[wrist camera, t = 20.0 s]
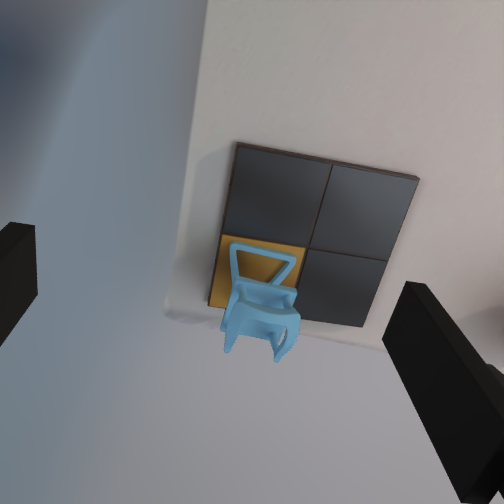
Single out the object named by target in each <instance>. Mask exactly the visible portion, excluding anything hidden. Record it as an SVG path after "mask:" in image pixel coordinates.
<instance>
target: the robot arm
mask: <svg viewBox="0 0 504 504" xmlns="http://www.w3.org/2000/svg"><path fill="white" fill-rule="evenodd" d="M35 242H36V241H35V225H29V224H22V223H16V222H10V223H8V225H6V226H5V227H4V228H3V229H2V230H1V231H0V346H1V345H2V344H3V342H4V341H5V340H6V338H7V337H8V335H9V334H10V333H11V331H12V330H13V328H14V327H15V325H16V324H17V323H18V321H19V320H20V318H21V317H22V315H23V314H24V313H25V312H26V310H27V309H28V307H29V306H30V305H31V303H32V302H33V300H34V299H35V297H36V296H37V295H38V289H37V265H36V243H35ZM382 341H383V343H384V345H385V347H386V349H387V351H388V353H389V355H390V357H391V359H392V361H393V363H394V365H395V368H396V370H397V371H398V374H399V376H400V378H401V380H402V382H403V384H404V386H405V388H406V390H407V392H408V394H409V396H410V398H411V401H412V403H413V405H414V407H415V409H416V411H417V413H418V415H419V417H420V419H421V421H422V423H423V425H424V427H425V429H426V432H427V434H428V435H429V438H430V440H431V442H432V444H433V446H434V448H435V450H436V452H437V454H438V456H439V458H440V460H441V463H442V464H443V466H444V469H445V471H446V473H447V475H448V477H449V479H450V481H451V483H452V485H453V487H454V489H455V491H456V493H457V496H458V498H459V500H460V502H461V503H468V504H489V503H490V501H491V500H492V498H493V497H494V496H495V494H496V493H497V491H498V490H499V492H500V493H501V495H502V497H503V499H504V374H502V373H501V372H500V371H499V370H498V369H496V368H495V367H494V366H493V365H491V364H486V363H485V362H484V361H483V359H482V358H481V357H480V355H479V354H478V353H477V351H476V350H475V349H474V347H473V346H472V345H471V343H470V342H469V341H468V339H467V338H466V337H465V335H464V334H463V333H462V331H461V330H460V329H459V327H458V326H457V325H456V324H455V322H454V321H453V320H452V318H451V317H450V316H449V314H448V313H447V312H446V310H445V309H444V308H443V306H442V305H441V304H440V302H439V301H438V300H437V298H436V297H435V296H434V294H433V293H432V292H431V290H430V289H429V288H428V287H427V285H426V284H423V283H417V282H410V281H406V283H405V285H404V287H403V290H402V292H401V295H400V297H399V299H398V302H397V304H396V306H395V309H394V311H393V314H392V316H391V318H390V321H389V323H388V325H387V328H386V330H385V333H384V335H383V337H382Z"/></svg>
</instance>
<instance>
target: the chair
mask: <svg viewBox="0 0 504 504" xmlns="http://www.w3.org/2000/svg"><path fill="white" fill-rule="evenodd" d="M236 250H242V251H246V252H251V253H255V254H259V255H263V256H267V257H272V258H276V259H280V260H284V261H287V262H286V264H285V265H284V266H283V267H282V268H281V269H280V271H279V272H278V273H277V274H276V275H275V276H274V277H273V279H272V280H271V281H270V282H269V283H264V282H260V281H256V280H253V279H249V278H245V277H240V276H239V271H238V264H237V256H236ZM295 263H296V257H295V255H293V254H290V253H286V252H281V251H277V250H272V249H268V248H263V247H259V246H255V245H250V244H246V243H241V242H237V241H232V242H231V243H230V266H231V276H232V290H231V294H230V297H229V300H228V303H227V306H226V309H225V312H224V316H223V320H222V323H221V329H220V331H223V332H226V335H225V345H224V352H225V353H229V352H230V350H231V348H232V346H233V344H234V342H235V340H236V338H237V336H238V334H240V335H246V336H251V337H256V338H260V339H265V340H269V341H270V342H271V346H272V349H273V351H274V361H275V362H279V360H280V359H281V358H282V357H283V356H284V355H285V354H286V353H287V352H288V351H289V350H290V349H291V348H292V347H293V345H294V344H295V342H296V339H297V336H298V333H299V328H300V320H301V317H300V314H299V313H298V312H297V311H296V309H295V308H294V307H293V303H294V301H295V298H296V296H297V290H296V288H291V287H286V286H281V285H279V284H280V283H281V282H282V281H283V280H284V278H285V277H286V276H287V275H288V273H289V272H290V271H291V269H292V268H293V267H294V265H295ZM284 327H286V332H285V336H284V339H283V341H282V343H281V344H280V346H279V345H278V342H279V340H280V338H281V335H282V332H283V329H284Z"/></svg>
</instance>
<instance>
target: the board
mask: <svg viewBox="0 0 504 504" xmlns="http://www.w3.org/2000/svg"><path fill="white" fill-rule="evenodd" d="M419 180H420V179H419V178H418V177H417V176H413V175H408V174H403V173H397V172H392V171H387V170H382V169H377V168H371V167H366V166H361V165H356V164H350V163H345V162H340V161H335V160H330V159H324V158H319V157H314V156H309V155H303V154H298V153H293V152H288V151H283V150H277V149H272V148H267V147H262V146H256V145H251V144H246V143H241V142H237V145H236V151H235V156H234V162H233V167H232V173H231V178H230V184H229V189H228V194H227V200H226V205H225V211H224V216H223V222H222V227H221V233H220V238H219V243H218V249H217V254H216V260H215V265H214V271H213V276H212V282H211V287H210V292H209V298H208V306H211V307H218V308H225V309H226V306H227V303H228V300H229V297H230V294H231V290H232V276H231V266H230V243H231V242H232V241H237V242H241V243H246V244H250V245H255V246H259V247H263V248H268V249H272V250H277V251H281V252H286V253H290V254H293V255H295V257H296V263H295V265H294V267H293V268H292V269H291V271H290V272H289V273H288V275H287V276H286V277H285V278H284V280H283V281H282V282H281V283H280V284H279V285H281V286H286V287H291V288H296V290H297V296H296V298H295V301H294V303H293V307H294V308H295V309H296V311H297V312H298V313H299V314H300V317H301V319H305V320H312V321H319V322H326V323H333V324H340V325H348V326H355V327H363V325H364V323H365V320H366V317H367V315H368V312H369V310H370V307H371V304H372V302H373V299H374V297H375V294H376V292H377V289H378V286H379V284H380V281H381V279H382V276H383V273H384V271H385V268H386V266H387V263H388V260H389V258H390V255H391V253H392V250H393V247H394V245H395V242H396V240H397V237H398V234H399V232H400V229H401V227H402V224H403V221H404V219H405V216H406V214H407V211H408V209H409V206H410V203H411V201H412V198H413V196H414V193H415V190H416V188H417V185H418V183H419ZM236 256H237V264H238V271H239V276H240V277H245V278H249V279H253V280H256V281H260V282H264V283H269V282H270V281H271V280H272V279H273V277H274V276H275V275H276V274H277V273H278V272H279V271H280V269H281V268H282V267H283V266H284V265H285V264H286V262H287V261H284V260H280V259H276V258H272V257H267V256H263V255H259V254H255V253H251V252H246V251H242V250H236Z"/></svg>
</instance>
